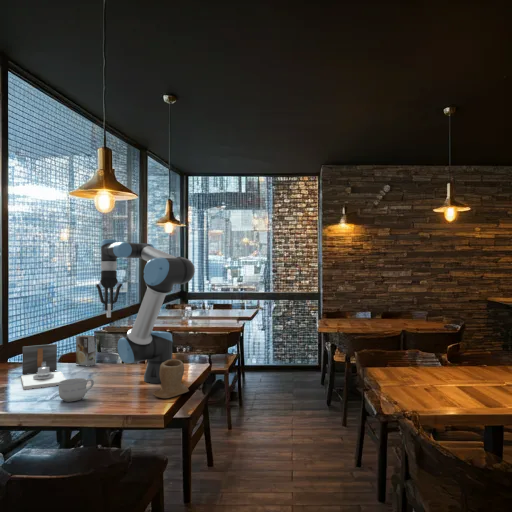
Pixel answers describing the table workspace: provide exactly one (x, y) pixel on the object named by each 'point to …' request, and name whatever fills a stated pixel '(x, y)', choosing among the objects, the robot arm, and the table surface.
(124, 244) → the robot arm
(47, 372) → the grey metal lever
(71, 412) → the table surface
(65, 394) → the teacup
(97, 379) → the table surface
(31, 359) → the board
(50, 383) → the base plate
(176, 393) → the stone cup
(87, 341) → the coffee box
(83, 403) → the table surface
